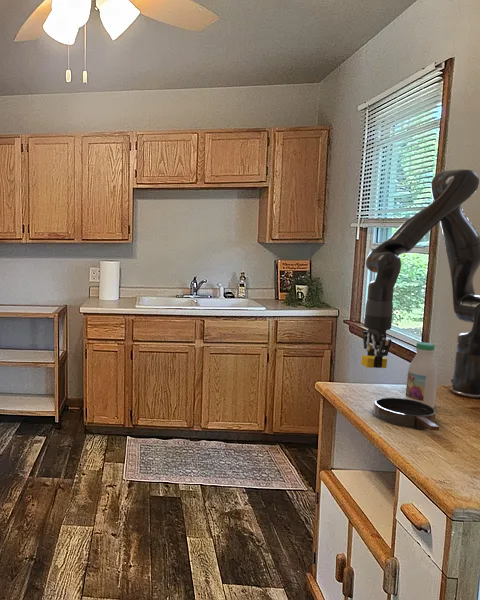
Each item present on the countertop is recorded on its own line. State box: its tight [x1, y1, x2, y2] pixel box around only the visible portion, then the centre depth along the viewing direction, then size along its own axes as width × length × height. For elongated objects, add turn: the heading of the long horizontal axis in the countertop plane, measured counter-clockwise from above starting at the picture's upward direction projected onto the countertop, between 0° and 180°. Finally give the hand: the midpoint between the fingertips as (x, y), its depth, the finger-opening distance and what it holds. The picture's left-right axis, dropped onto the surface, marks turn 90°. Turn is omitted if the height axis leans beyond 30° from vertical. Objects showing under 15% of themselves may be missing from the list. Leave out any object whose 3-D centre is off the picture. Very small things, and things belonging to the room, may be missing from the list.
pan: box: [372, 396, 437, 429], centre depth 146 cm, size 15×15×4 cm
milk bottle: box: [404, 341, 439, 409], centre depth 154 cm, size 8×8×20 cm
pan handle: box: [414, 416, 440, 432], centre depth 135 cm, size 7×2×3 cm, turn 175°
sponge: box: [360, 354, 388, 369], centre depth 161 cm, size 6×4×3 cm, turn 85°
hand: (374, 365), depth 161 cm, fingers closed on sponge, 4 cm apart
